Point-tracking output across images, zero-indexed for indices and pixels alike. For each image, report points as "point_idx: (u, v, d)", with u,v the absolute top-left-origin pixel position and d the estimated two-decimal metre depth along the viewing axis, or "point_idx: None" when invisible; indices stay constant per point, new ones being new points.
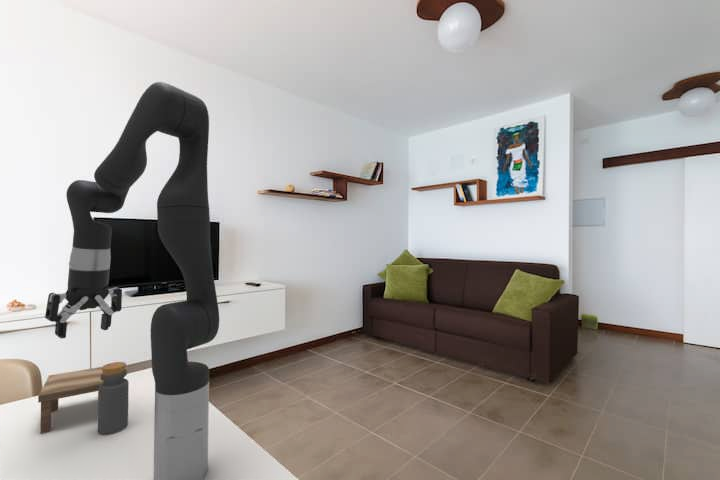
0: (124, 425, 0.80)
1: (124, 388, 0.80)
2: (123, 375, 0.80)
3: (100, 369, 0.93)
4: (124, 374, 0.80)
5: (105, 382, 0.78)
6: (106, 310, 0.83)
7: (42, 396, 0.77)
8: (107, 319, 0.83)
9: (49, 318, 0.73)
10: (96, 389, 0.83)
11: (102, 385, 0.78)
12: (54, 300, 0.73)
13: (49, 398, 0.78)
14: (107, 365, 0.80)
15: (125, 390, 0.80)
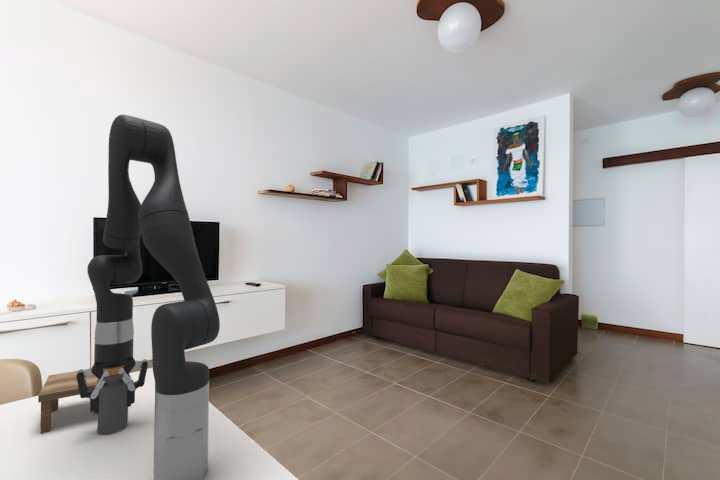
0: (124, 425, 0.80)
1: (124, 388, 0.80)
2: None
3: None
4: None
5: (105, 382, 0.78)
6: (127, 386, 0.81)
7: (42, 396, 0.77)
8: (129, 395, 0.81)
9: (80, 395, 0.76)
10: None
11: None
12: (78, 378, 0.75)
13: (49, 398, 0.78)
14: None
15: (125, 390, 0.80)
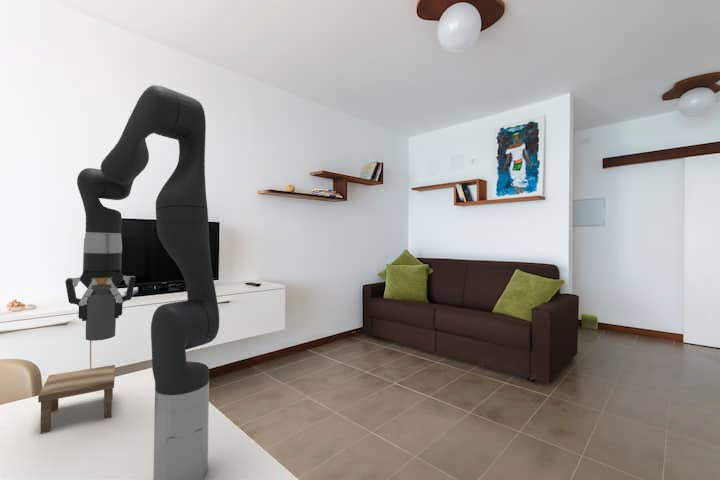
0: (111, 334, 0.83)
1: (112, 299, 0.82)
2: None
3: (100, 369, 0.93)
4: None
5: (93, 291, 0.81)
6: (115, 298, 0.83)
7: (42, 396, 0.77)
8: (117, 307, 0.84)
9: (69, 301, 0.79)
10: (96, 389, 0.83)
11: None
12: (67, 284, 0.78)
13: (49, 398, 0.78)
14: None
15: (112, 301, 0.83)
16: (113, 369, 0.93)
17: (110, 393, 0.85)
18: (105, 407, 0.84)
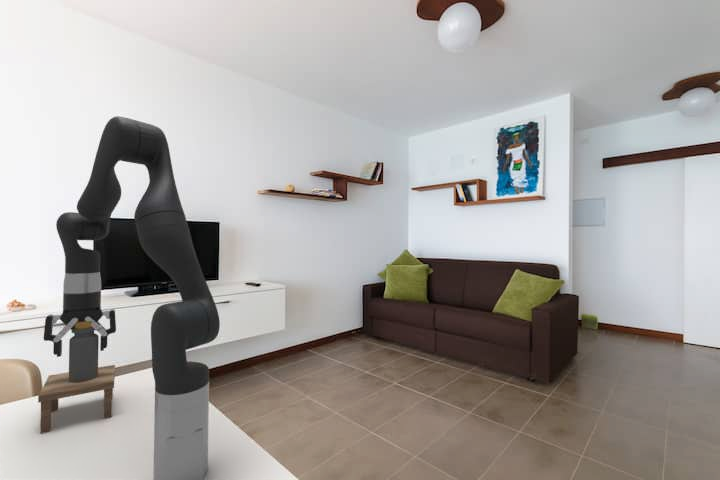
0: (93, 375, 0.86)
1: (94, 341, 0.86)
2: (93, 329, 0.86)
3: (100, 369, 0.93)
4: None
5: (76, 335, 0.85)
6: (99, 331, 0.88)
7: (42, 396, 0.77)
8: (101, 340, 0.88)
9: None
10: (96, 389, 0.83)
11: (73, 337, 0.85)
12: (46, 321, 0.82)
13: (49, 398, 0.78)
14: None
15: (94, 343, 0.87)
16: (113, 369, 0.93)
17: (110, 393, 0.85)
18: (105, 407, 0.84)
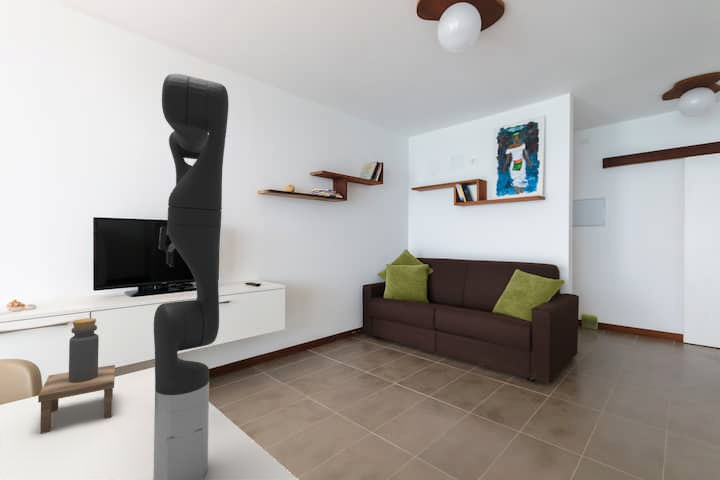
0: (93, 375, 0.86)
1: (94, 341, 0.86)
2: (93, 329, 0.86)
3: (100, 369, 0.93)
4: (94, 328, 0.87)
5: (76, 335, 0.85)
6: None
7: (42, 396, 0.77)
8: None
9: (159, 246, 0.85)
10: (96, 389, 0.83)
11: (73, 337, 0.85)
12: (162, 231, 0.86)
13: (49, 398, 0.78)
14: (78, 320, 0.87)
15: (94, 343, 0.87)
16: (113, 369, 0.93)
17: (110, 393, 0.85)
18: (105, 407, 0.84)
